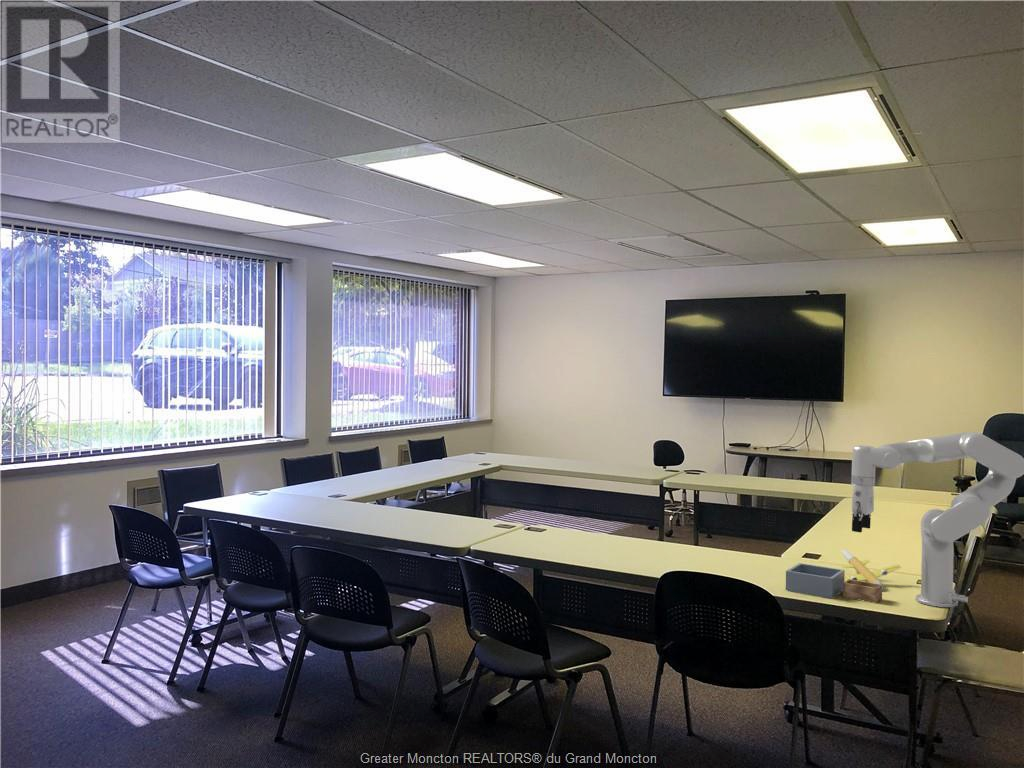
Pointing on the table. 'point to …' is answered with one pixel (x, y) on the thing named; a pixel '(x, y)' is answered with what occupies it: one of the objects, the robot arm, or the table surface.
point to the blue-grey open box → (815, 580)
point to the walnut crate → (862, 590)
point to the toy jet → (865, 570)
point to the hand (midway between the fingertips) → (861, 529)
